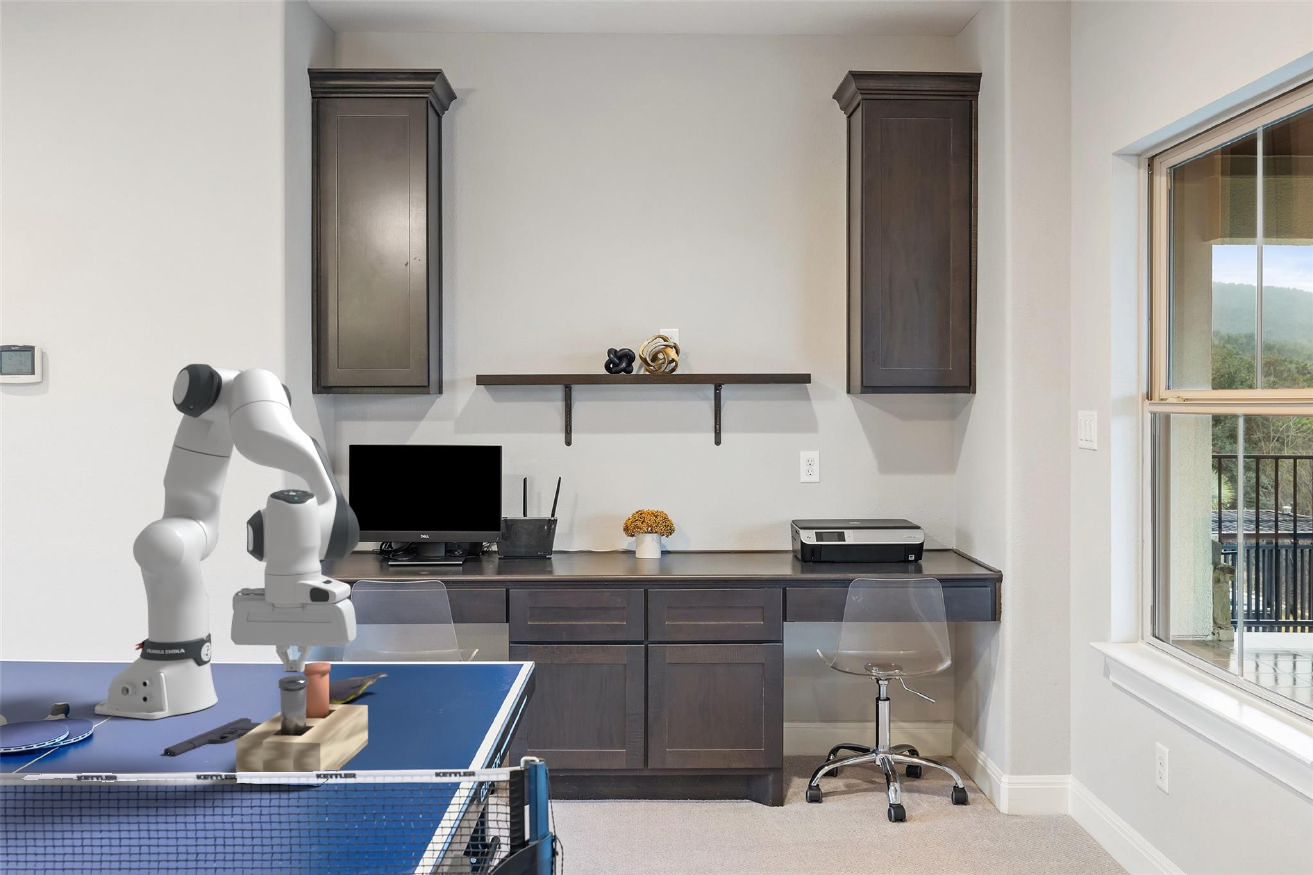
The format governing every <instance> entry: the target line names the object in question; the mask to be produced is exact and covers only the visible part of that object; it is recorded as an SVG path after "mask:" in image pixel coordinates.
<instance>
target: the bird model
mask: <svg viewBox="0 0 1313 875" xmlns="http://www.w3.org/2000/svg"><path fill="white" fill-rule="evenodd" d="M388 676H389V675H388V674H387V673H385V672H376V673H374V674H370V675H364V676H358V677H357V676H355V677H354V676H353V677H347V678H340V679H338V680H334V681H329V704H338V705H343V704H344V703H347V702H348V701H350V700H352V699H354V698H356V697H359V696H360V695H361V694H362V693H363V691H365V690H366V688H369V687H371V686H373V685H375V683H376V682H377V680H378V679H380V678H384V677H388Z"/></svg>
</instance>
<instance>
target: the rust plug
mask: <svg viewBox="0 0 1313 875" xmlns="http://www.w3.org/2000/svg"><path fill="white" fill-rule="evenodd" d="M331 665H332V664H331V663H330V662H327V661H318V662H317V661H316V662H311V663H305V669H304V671H303V672H302V674H304V676H305V677H308V685H307V686H306V718H321V719H325V718H326V717H328V716H329V682H330V672H331V671H332V670H331V668H332V667H331Z"/></svg>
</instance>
